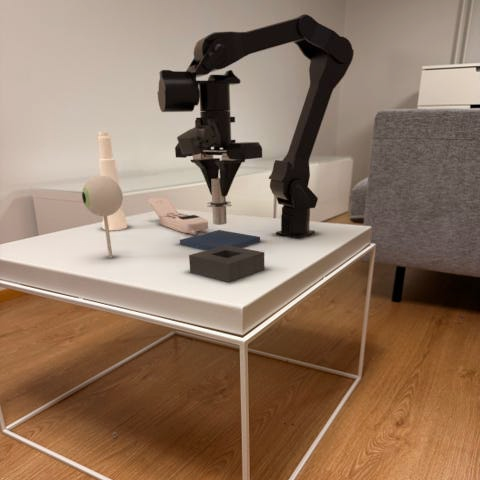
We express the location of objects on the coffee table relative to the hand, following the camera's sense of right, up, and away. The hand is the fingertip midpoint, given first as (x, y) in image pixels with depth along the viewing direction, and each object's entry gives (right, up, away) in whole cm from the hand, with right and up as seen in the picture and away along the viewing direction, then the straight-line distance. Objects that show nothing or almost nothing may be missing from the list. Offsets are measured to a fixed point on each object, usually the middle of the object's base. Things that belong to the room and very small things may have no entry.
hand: (218, 195), depth 95 cm
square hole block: (+2, -17, -15) cm, 23 cm away
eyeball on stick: (-20, -13, -5) cm, 25 cm away
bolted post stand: (0, -5, +2) cm, 6 cm away
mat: (0, -9, +4) cm, 10 cm away
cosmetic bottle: (-27, -3, +21) cm, 34 cm away
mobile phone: (-11, -2, +20) cm, 23 cm away
